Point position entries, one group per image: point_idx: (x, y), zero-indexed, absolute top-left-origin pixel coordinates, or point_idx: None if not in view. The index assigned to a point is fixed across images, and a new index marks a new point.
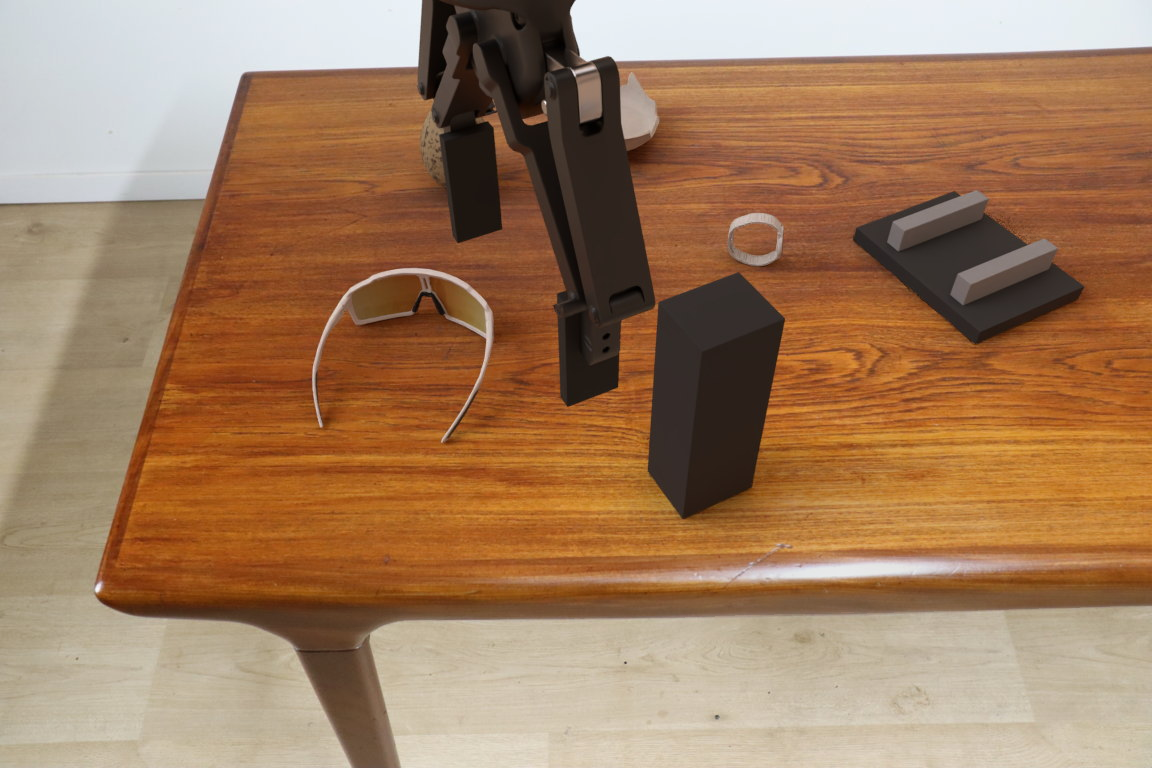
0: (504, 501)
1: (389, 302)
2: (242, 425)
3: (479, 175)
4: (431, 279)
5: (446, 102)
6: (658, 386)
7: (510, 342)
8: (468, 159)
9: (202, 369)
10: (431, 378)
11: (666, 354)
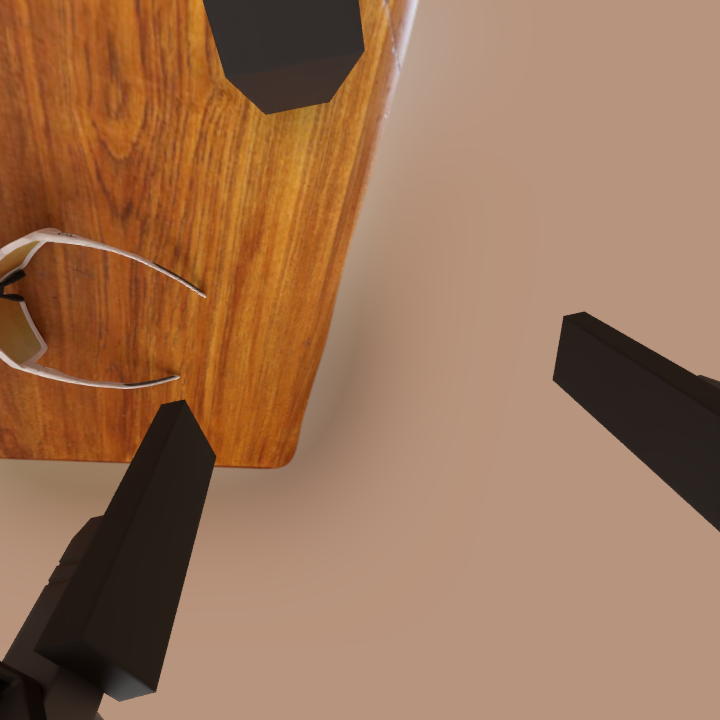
0: (274, 258)
1: (13, 322)
2: None
3: (158, 530)
4: None
5: None
6: (263, 97)
7: (61, 206)
8: (151, 591)
9: (110, 444)
10: (121, 292)
11: (270, 85)
